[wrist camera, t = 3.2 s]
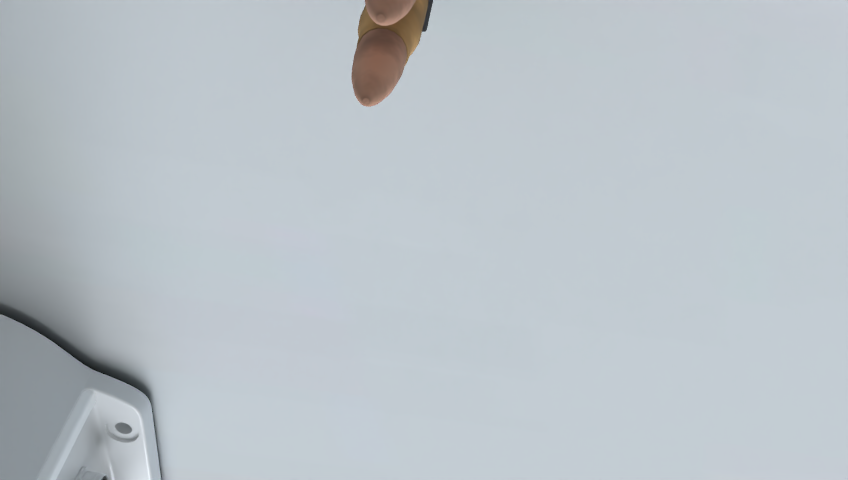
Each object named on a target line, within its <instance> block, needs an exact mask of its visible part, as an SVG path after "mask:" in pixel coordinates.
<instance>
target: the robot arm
mask: <svg viewBox="0 0 848 480" xmlns="http://www.w3.org/2000/svg"><path fill="white" fill-rule="evenodd" d="M0 480H161V474H160V467H159V459H158V452H157V444H156V437H155V429H154V422H153V414H152V407H151V403H150V401H149V399H148V398H147V396H146V395H145V394H144V393H142V392H141V391H140V390H138V389H136V388H135V387H133V386H131V385H129V384H127V383H124V382H122V381H120V380H117V379H115V378H112V377H110V376H107V375H105V374H102V373H100V372H97V371H95V370H92V369H91V368H89V367H87V366H85V365H84V364H82V363H81V362H79V361H78V360H77V359H75V358H74V357H73V356H71V355H70V354H69V353H67V352H66V351H65V350H63V349H62V348H60V347H59V346H58V345H56V344H55V343H54V342H52V341H51V340H49V339H48V338H46V337H44V336H43V335H41V334H40V333H38V332H36V331H34V330H33V329H31V328H29V327H27V326H25V325H23V324H21V323H19V322H17V321H15V320H13V319H11V318H8V317H6V316H4V315H1V314H0Z"/></svg>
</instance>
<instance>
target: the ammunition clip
mask: <svg viewBox="0 0 848 480" xmlns="http://www.w3.org/2000/svg"><path fill="white" fill-rule="evenodd" d="M432 3H433V0H365V4H366V5H365V7H364V10H363V12H362V14H361V17H360V21H359V27H358V35H359V39H358V43H357V49H356V52H355V55H354V61H353V67H352V84H353V89H354V93H355V96H356V98H357V99H358V101H359V102H360V103H361V104H362V105H364V106H374V105H376V104H378V103H380V102H381V101H382V100H383V99H385V98H386V97H387V96H388V95H389V94H390V93H391V92H392V90H393V89H394V87H395V86H396V84H397V82H398V81H399V79H400V77H401V75H402V73H403V69H404V66H405V65H406V63H407V61H408V58H409V56H410V55H411V54H412V53H413V52H414V50H415V48H416V47H417V45H418V44H419V41H420V37H421V33H422V32H424V31H426V30H427V26H428V21H429V17H430V12H431V7H432Z"/></svg>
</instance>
